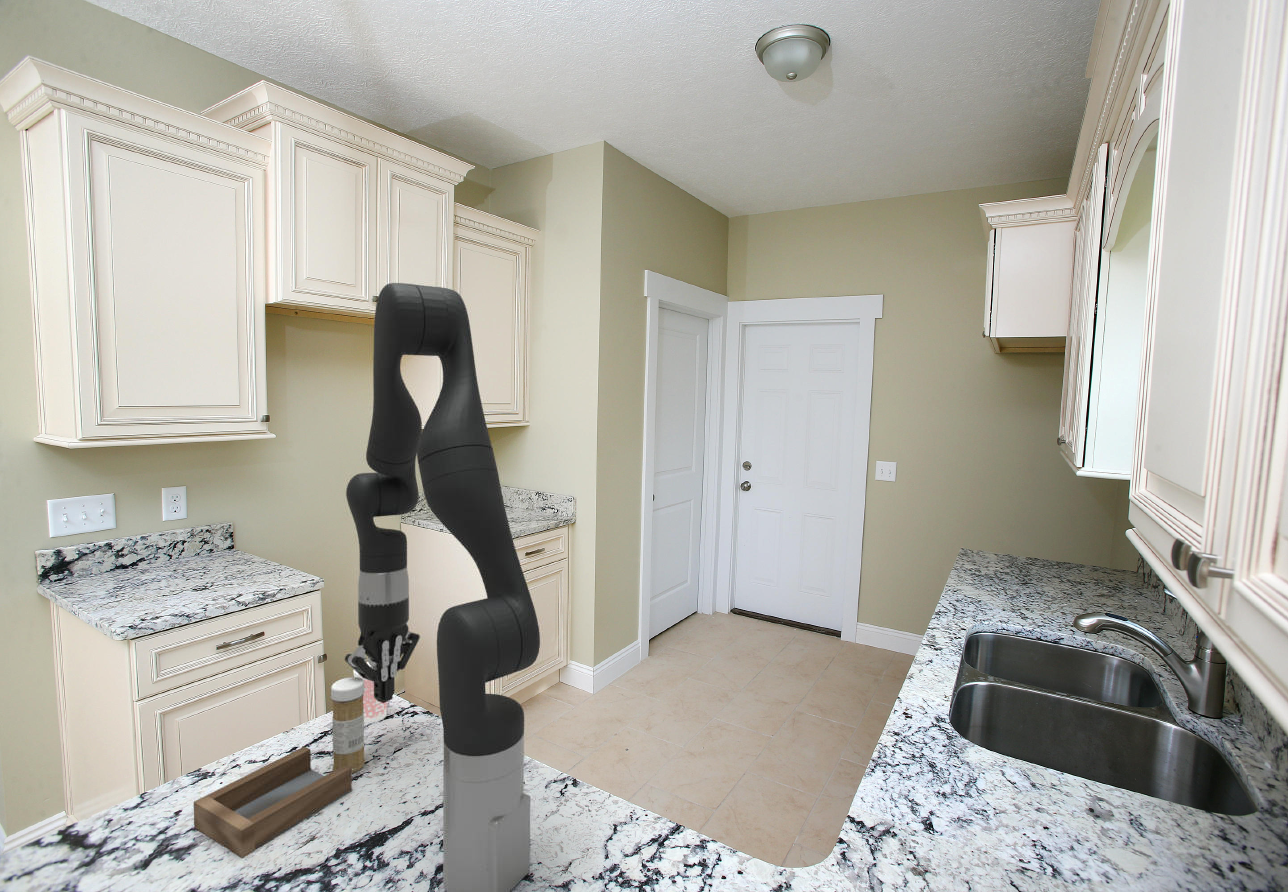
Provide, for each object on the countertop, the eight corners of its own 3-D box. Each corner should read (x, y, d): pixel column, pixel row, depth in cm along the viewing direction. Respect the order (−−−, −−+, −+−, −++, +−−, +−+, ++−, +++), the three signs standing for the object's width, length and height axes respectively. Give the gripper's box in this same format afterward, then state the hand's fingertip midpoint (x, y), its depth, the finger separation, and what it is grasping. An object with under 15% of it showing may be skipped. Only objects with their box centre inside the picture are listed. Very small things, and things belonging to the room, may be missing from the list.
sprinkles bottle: (360, 755, 96) (360, 673, 95) (368, 768, 92) (368, 683, 92) (328, 765, 93) (328, 681, 92) (335, 780, 89) (335, 692, 89)
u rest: (351, 790, 87) (351, 767, 87) (242, 857, 74) (241, 830, 74) (304, 768, 92) (304, 746, 92) (194, 827, 79) (193, 801, 79)
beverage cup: (359, 729, 104) (358, 649, 103) (349, 715, 108) (348, 639, 107) (395, 717, 108) (395, 641, 107) (384, 704, 112) (384, 631, 111)
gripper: (362, 611, 89) (363, 724, 90) (432, 588, 101) (432, 689, 102) (330, 602, 93) (331, 711, 94) (401, 582, 104) (402, 679, 105)
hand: (384, 699), depth 98 cm, fingers closed
